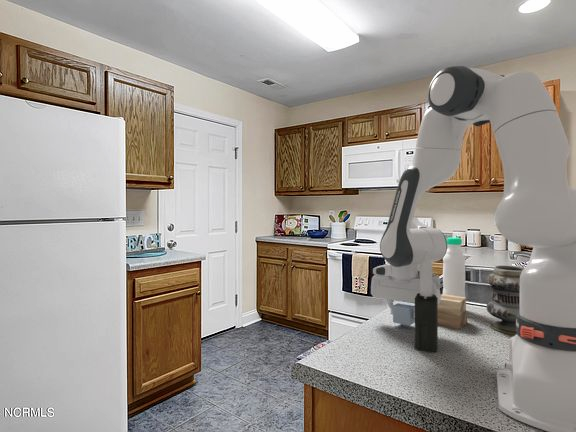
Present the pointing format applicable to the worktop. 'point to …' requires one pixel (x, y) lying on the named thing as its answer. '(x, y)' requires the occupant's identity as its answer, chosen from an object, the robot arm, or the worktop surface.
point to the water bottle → (454, 269)
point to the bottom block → (452, 320)
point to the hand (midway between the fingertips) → (404, 316)
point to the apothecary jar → (505, 297)
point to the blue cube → (403, 313)
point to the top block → (452, 305)
